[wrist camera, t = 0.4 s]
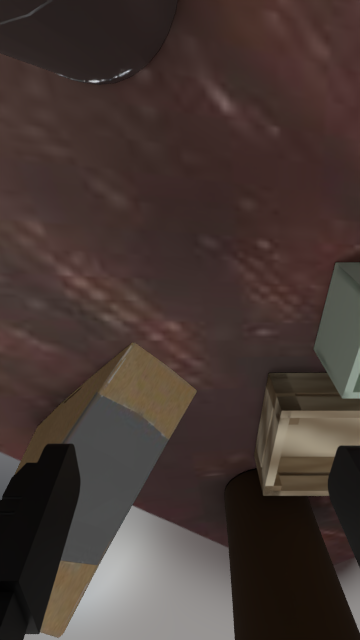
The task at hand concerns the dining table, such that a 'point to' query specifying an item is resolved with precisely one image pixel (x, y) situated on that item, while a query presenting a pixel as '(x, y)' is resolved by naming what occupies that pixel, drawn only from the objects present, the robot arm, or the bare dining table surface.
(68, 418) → the sandwich container
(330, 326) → the box
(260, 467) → the big crate
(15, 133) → the dining table surface
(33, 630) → the robot arm
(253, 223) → the dining table surface
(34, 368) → the dining table surface
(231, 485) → the olive oil
